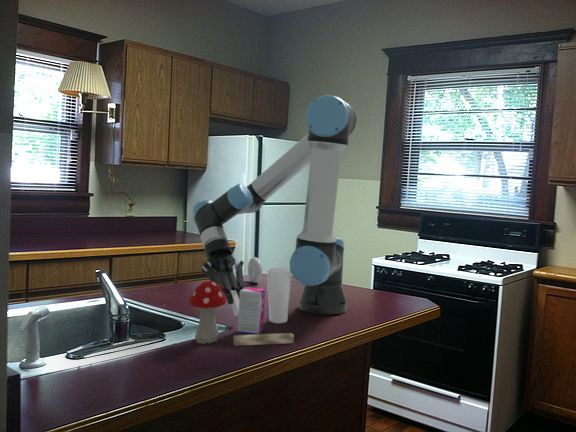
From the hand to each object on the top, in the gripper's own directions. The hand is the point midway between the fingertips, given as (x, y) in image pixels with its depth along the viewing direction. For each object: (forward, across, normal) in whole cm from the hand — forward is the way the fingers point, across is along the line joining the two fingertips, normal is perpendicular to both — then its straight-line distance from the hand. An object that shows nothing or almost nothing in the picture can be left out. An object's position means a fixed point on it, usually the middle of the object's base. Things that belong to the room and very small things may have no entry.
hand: (238, 312), depth 157 cm
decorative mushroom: (+10, +13, +4) cm, 17 cm away
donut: (-35, -33, -41) cm, 63 cm away
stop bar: (+15, +2, +10) cm, 18 cm away
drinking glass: (+3, -12, -2) cm, 13 cm away
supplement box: (+8, 0, +2) cm, 8 cm away
